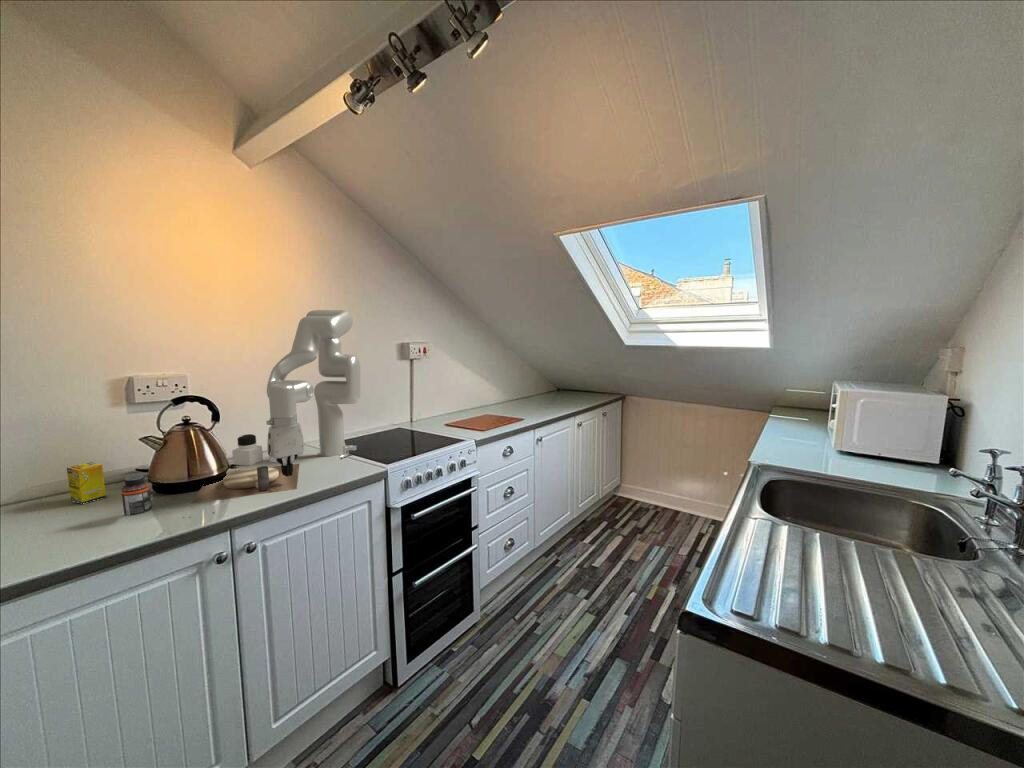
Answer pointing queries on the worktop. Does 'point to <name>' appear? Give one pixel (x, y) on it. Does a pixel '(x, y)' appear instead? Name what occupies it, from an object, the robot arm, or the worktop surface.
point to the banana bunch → (251, 478)
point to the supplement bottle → (136, 496)
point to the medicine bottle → (247, 451)
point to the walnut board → (222, 492)
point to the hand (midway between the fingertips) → (287, 475)
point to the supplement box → (86, 482)
